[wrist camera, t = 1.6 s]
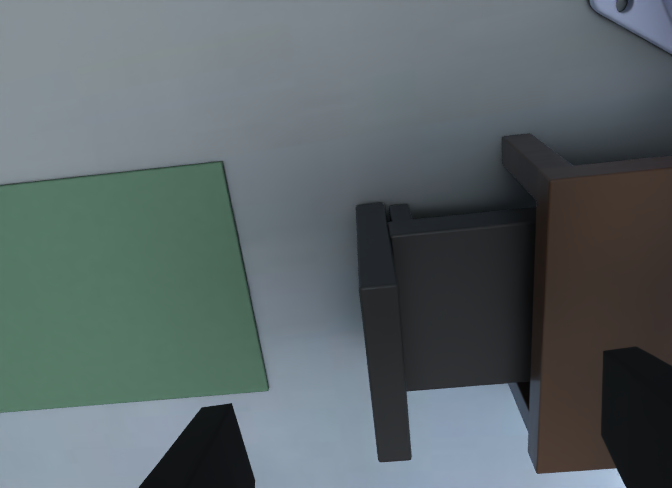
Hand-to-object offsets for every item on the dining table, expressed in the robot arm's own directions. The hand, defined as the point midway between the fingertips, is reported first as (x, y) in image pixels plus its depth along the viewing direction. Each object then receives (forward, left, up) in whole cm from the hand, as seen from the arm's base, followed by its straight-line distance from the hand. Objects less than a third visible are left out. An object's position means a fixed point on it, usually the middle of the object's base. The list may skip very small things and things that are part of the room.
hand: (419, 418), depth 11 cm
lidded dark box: (-4, 0, -10) cm, 11 cm away
